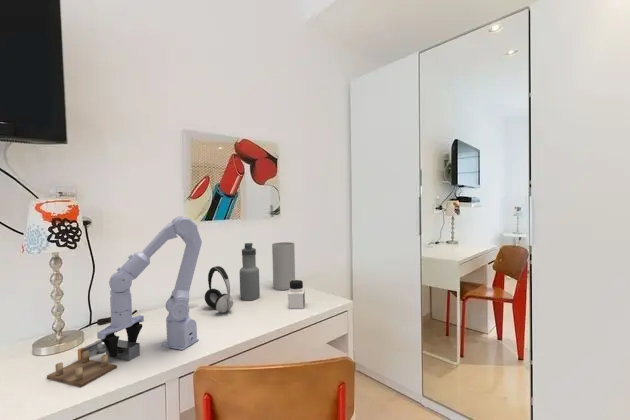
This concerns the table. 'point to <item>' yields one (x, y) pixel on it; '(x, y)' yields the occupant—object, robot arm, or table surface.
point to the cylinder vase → (283, 265)
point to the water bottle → (249, 274)
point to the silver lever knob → (92, 349)
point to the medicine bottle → (296, 295)
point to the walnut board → (87, 372)
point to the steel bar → (126, 350)
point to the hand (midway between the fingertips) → (123, 351)
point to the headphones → (218, 292)
